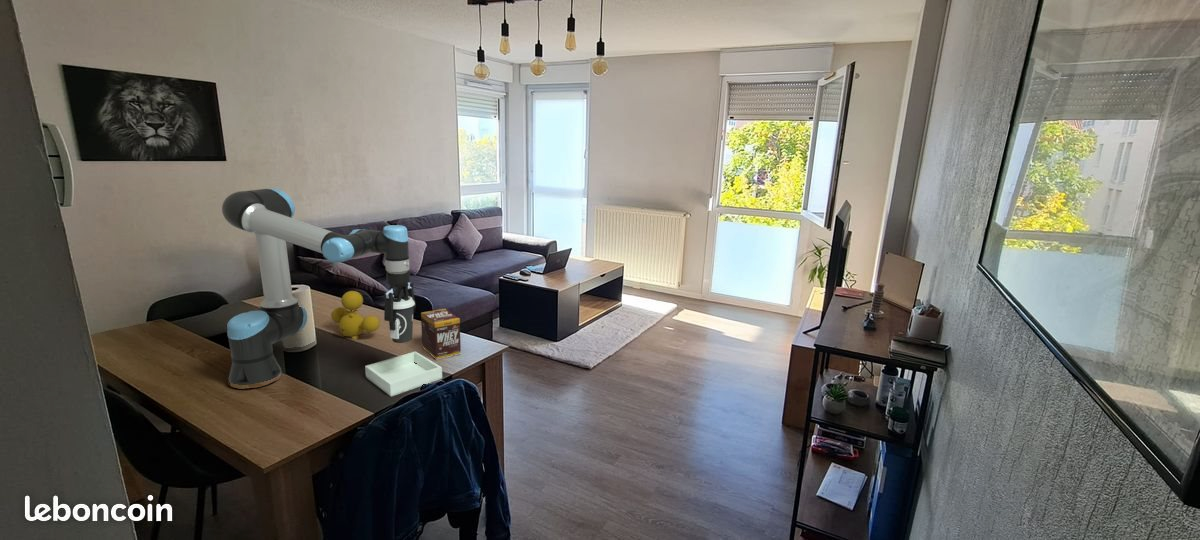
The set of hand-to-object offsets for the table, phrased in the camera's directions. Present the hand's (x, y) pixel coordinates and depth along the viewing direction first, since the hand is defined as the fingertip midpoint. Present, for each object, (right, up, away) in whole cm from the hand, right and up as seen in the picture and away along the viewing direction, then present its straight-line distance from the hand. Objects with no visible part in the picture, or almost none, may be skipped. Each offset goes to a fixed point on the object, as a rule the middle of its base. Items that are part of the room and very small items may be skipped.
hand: (401, 333), depth 171 cm
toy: (-37, -6, +39) cm, 54 cm away
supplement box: (+5, -11, +28) cm, 30 cm away
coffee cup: (0, -2, +1) cm, 2 cm away
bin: (-1, -17, +4) cm, 17 cm away
